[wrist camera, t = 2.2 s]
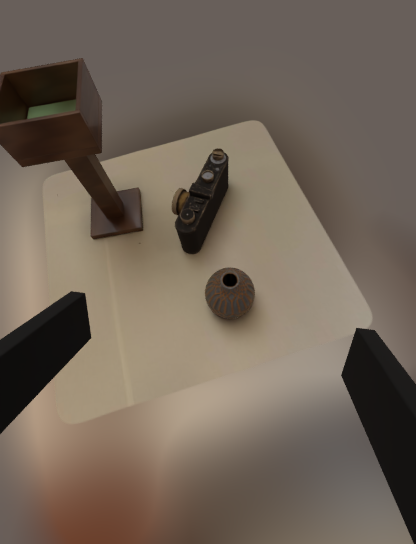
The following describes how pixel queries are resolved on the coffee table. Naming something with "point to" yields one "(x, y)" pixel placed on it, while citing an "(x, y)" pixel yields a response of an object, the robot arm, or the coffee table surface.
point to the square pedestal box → (65, 136)
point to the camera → (201, 202)
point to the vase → (229, 293)
